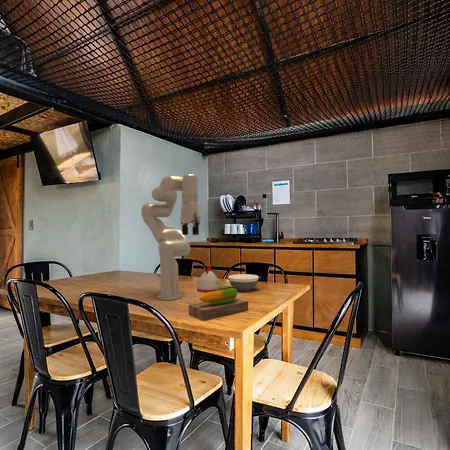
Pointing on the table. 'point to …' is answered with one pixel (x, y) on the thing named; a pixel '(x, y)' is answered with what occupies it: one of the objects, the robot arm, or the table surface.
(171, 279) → the robot arm
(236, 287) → the bowl
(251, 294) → the table surface
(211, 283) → the kitchen timer
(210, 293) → the corn
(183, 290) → the table surface
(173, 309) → the table surface
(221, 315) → the board
